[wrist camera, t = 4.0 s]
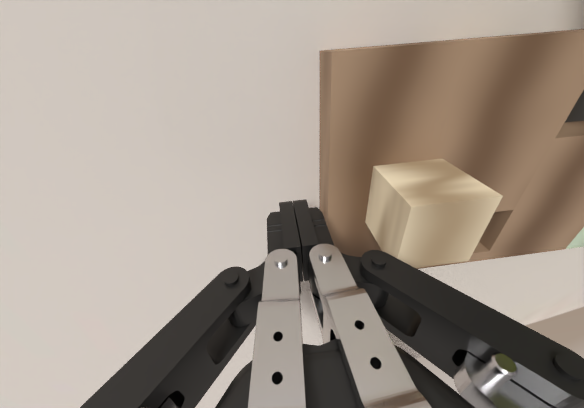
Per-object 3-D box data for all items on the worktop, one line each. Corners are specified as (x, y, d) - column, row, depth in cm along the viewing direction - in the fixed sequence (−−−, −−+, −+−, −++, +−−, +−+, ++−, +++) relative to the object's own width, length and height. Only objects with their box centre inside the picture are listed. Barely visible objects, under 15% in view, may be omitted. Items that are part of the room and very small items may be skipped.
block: (442, 158, 13) (502, 196, 10) (424, 215, 15) (468, 260, 12) (373, 166, 13) (411, 206, 10) (365, 222, 15) (393, 270, 12)
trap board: (791, 12, 13) (890, 5, 11) (606, 220, 22) (643, 238, 20) (319, 50, 12) (332, 51, 10) (319, 257, 20) (326, 280, 18)
